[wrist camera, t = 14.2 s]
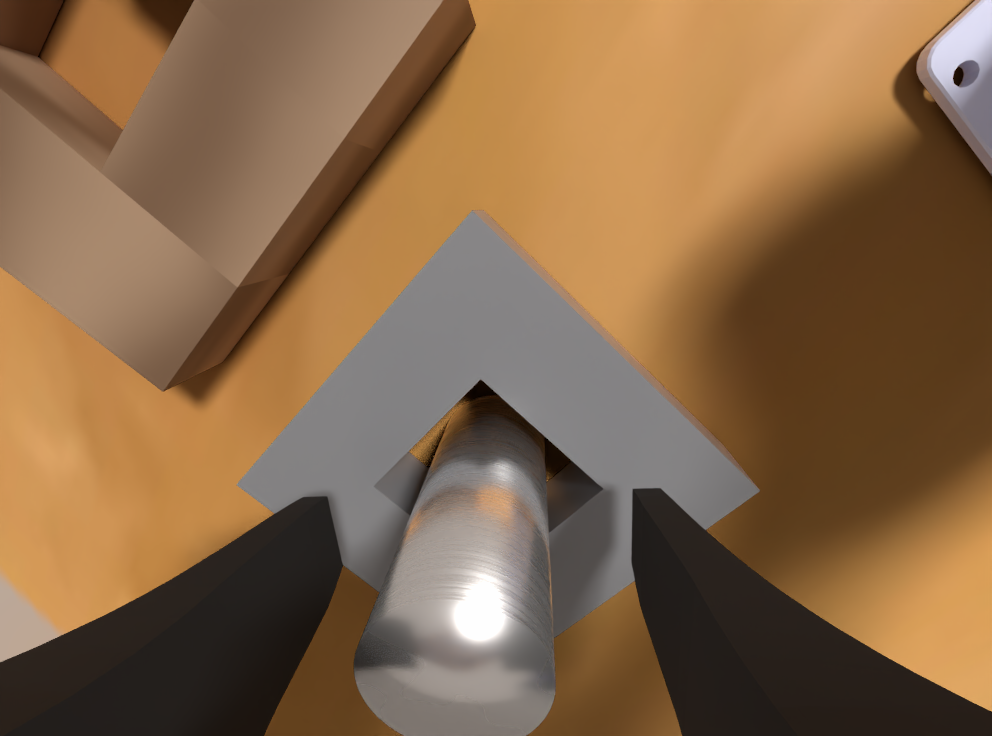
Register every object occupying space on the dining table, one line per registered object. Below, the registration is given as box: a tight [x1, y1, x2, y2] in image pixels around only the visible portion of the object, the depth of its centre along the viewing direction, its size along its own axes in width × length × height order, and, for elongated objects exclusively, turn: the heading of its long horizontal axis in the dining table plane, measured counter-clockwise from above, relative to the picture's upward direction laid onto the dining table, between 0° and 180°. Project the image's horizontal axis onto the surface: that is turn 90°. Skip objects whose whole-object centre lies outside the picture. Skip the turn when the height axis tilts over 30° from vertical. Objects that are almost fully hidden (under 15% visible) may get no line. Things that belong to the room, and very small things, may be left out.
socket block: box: [0, 0, 476, 391], centre depth 11 cm, size 12×12×2 cm
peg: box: [354, 396, 556, 736], centre depth 11 cm, size 3×3×8 cm
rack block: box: [237, 210, 760, 638], centre depth 14 cm, size 10×10×2 cm
